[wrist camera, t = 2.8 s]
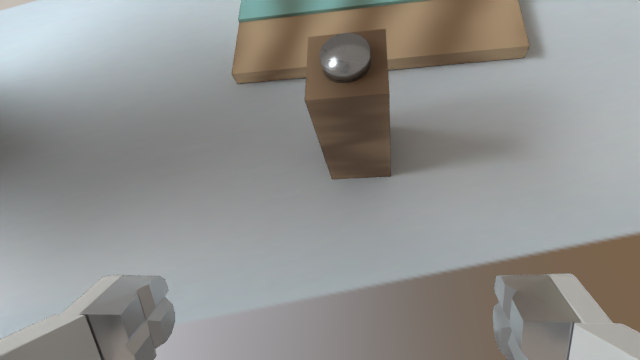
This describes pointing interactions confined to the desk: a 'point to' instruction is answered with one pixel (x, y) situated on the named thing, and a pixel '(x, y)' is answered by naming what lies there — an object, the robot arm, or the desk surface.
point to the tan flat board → (372, 14)
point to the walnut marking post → (350, 102)
